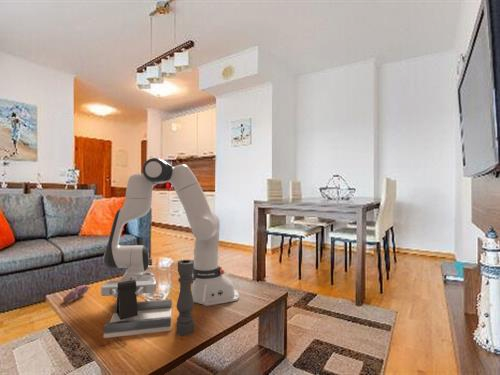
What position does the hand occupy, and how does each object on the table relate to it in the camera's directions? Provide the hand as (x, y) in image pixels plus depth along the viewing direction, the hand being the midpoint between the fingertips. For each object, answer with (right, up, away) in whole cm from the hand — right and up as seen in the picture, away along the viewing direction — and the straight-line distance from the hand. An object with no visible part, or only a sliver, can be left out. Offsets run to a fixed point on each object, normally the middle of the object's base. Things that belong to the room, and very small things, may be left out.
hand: (126, 295), depth 106 cm
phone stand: (0, -7, +1) cm, 8 cm away
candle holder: (+23, -11, -4) cm, 26 cm away
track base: (+5, -11, +2) cm, 12 cm away
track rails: (+5, -11, +2) cm, 12 cm away
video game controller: (-32, -10, +22) cm, 40 cm away
